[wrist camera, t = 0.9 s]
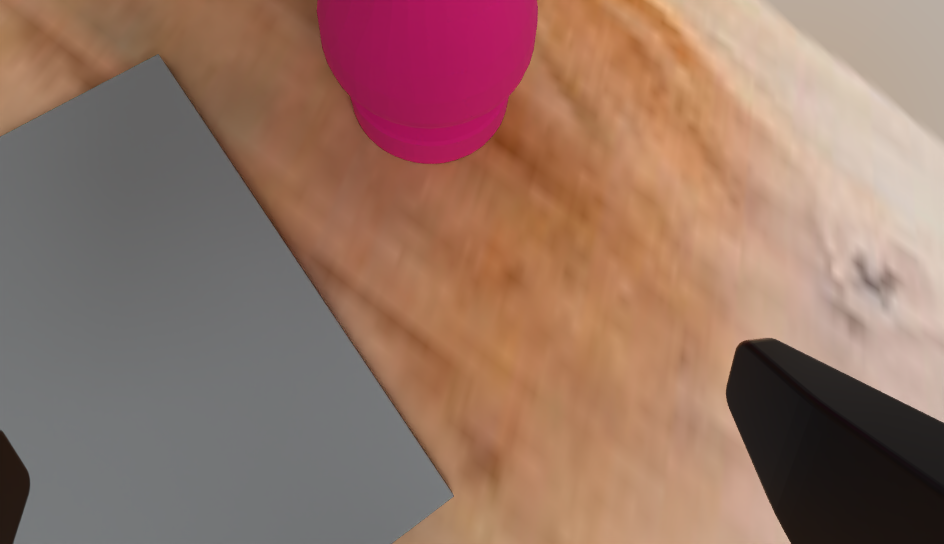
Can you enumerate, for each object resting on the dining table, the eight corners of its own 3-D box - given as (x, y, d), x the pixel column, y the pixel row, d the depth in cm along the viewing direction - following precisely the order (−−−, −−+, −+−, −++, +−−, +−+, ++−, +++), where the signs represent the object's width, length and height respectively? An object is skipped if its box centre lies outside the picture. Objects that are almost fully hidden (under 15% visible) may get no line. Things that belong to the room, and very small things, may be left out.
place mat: (453, 494, 20) (453, 496, 20) (62, 791, 18) (50, 803, 17) (165, 63, 24) (158, 54, 23) (-197, 254, 21) (-215, 248, 21)
